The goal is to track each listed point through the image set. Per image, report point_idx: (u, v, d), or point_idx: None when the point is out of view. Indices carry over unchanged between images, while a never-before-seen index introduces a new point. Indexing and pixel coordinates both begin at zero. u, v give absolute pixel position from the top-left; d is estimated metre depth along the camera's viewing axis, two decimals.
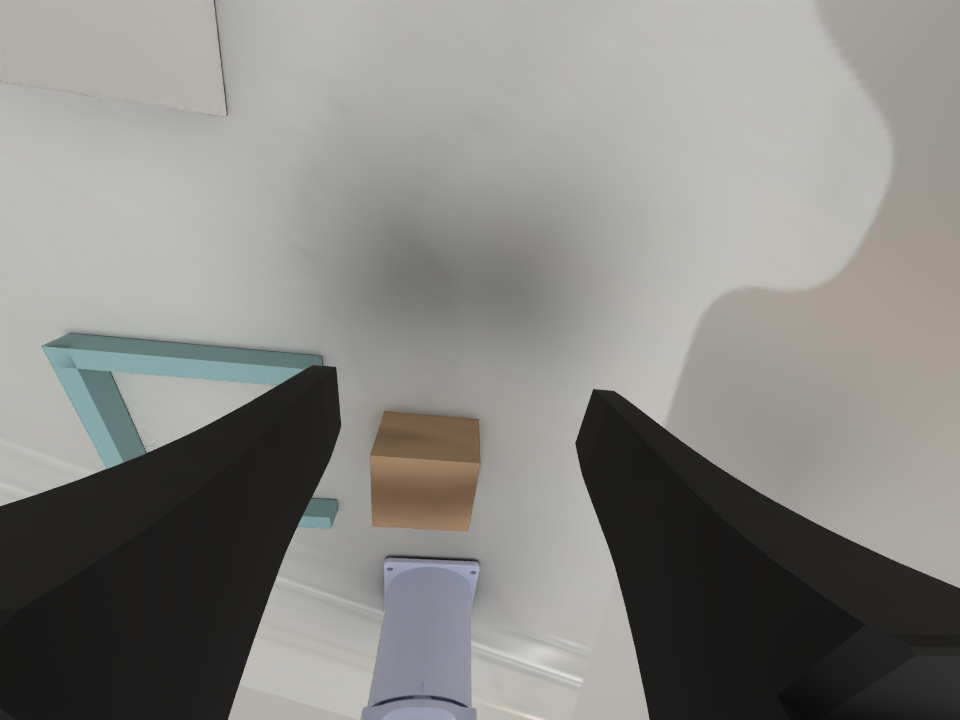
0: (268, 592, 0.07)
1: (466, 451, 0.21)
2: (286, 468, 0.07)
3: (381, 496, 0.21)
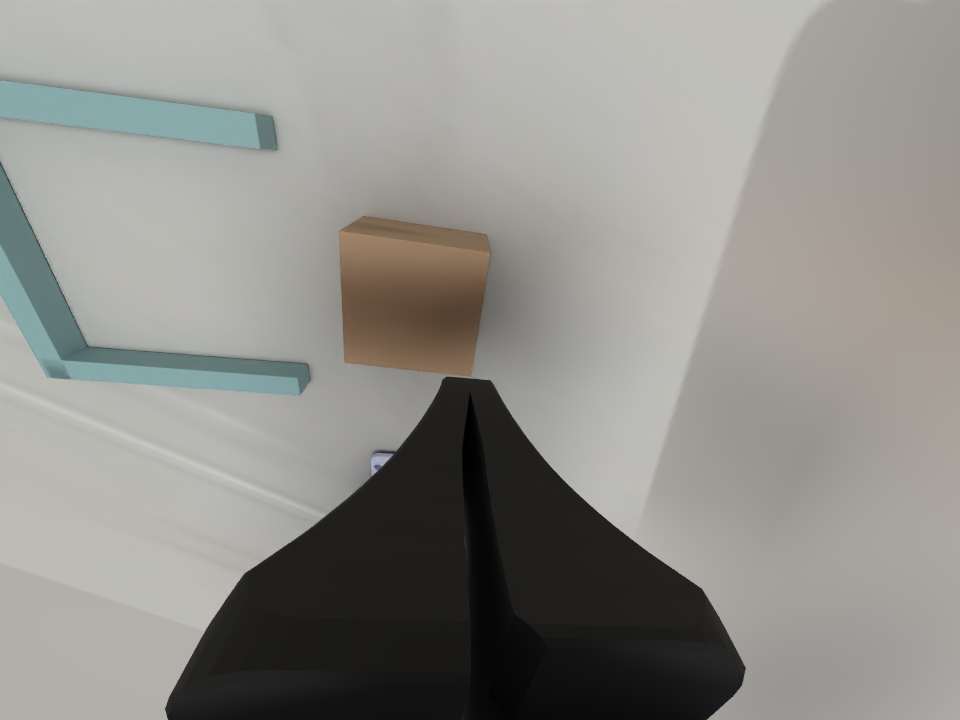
0: None
1: (471, 245, 0.15)
2: None
3: (355, 308, 0.16)
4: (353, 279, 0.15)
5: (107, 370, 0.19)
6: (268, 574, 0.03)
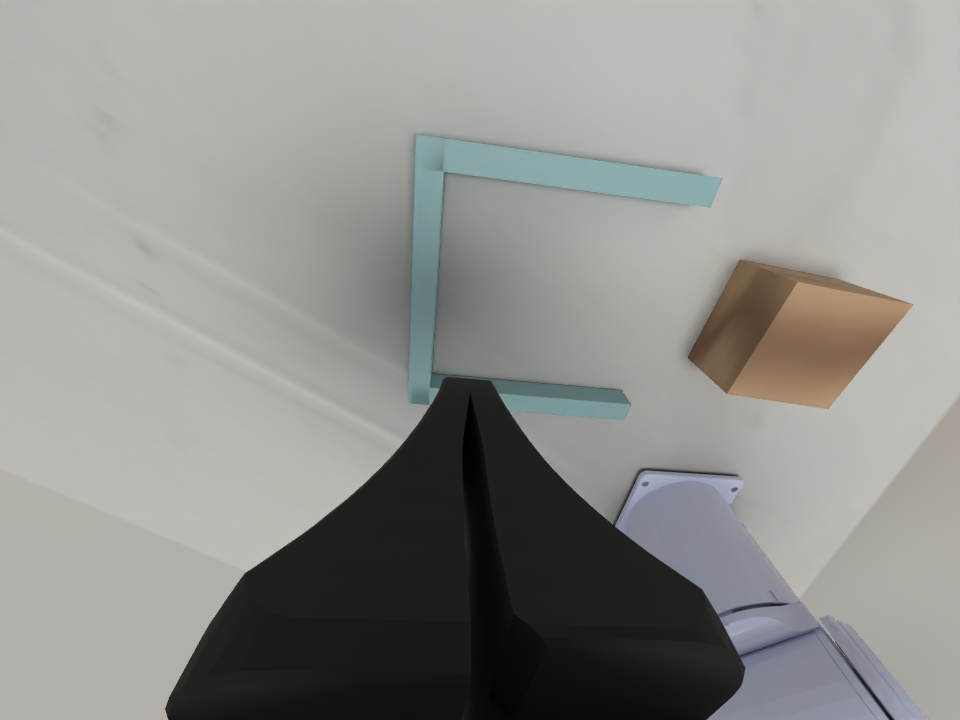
0: None
1: (880, 295, 0.17)
2: None
3: (767, 348, 0.17)
4: (782, 323, 0.17)
5: None
6: (269, 575, 0.03)
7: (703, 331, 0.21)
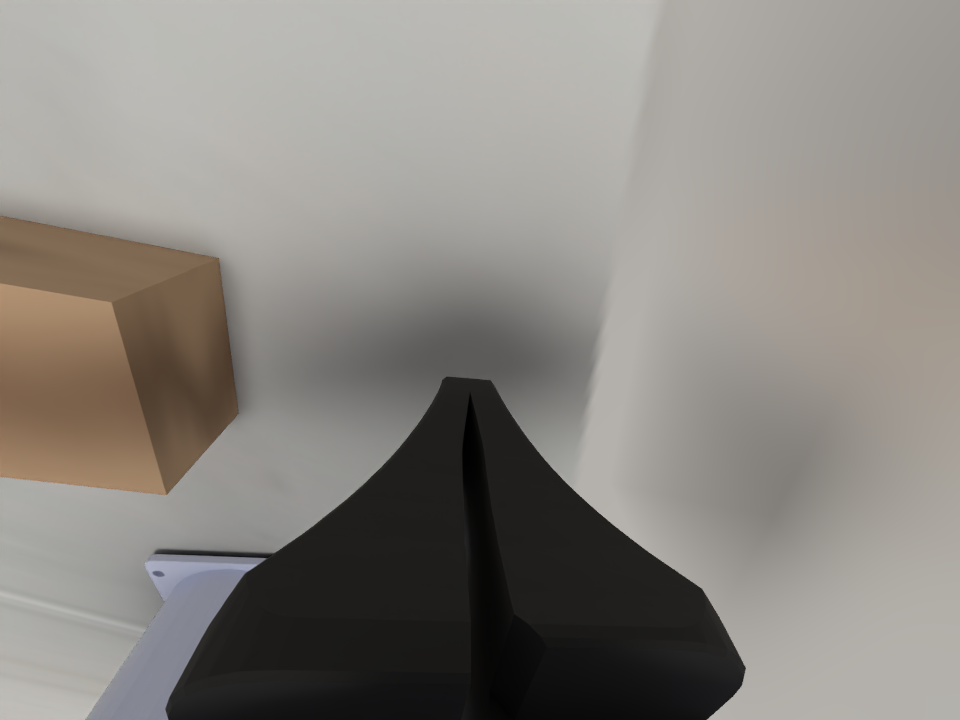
0: None
1: (103, 283, 0.08)
2: None
3: None
4: None
5: None
6: (269, 574, 0.03)
7: None
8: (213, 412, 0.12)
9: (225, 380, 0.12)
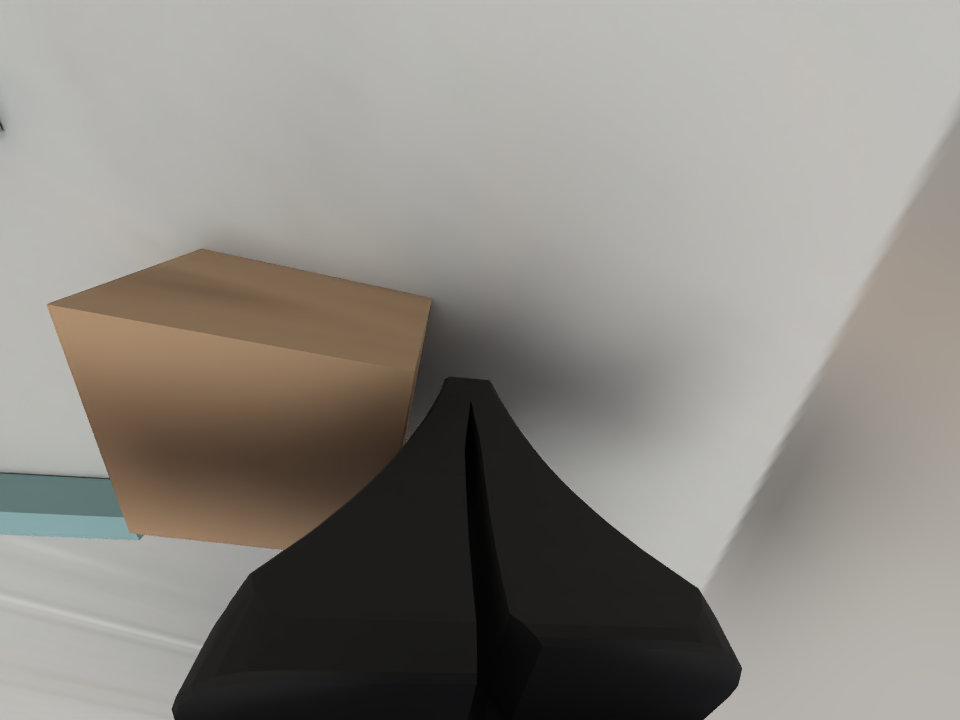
0: None
1: (380, 343, 0.07)
2: None
3: (128, 452, 0.07)
4: (110, 401, 0.07)
5: None
6: (273, 575, 0.03)
7: None
8: None
9: None
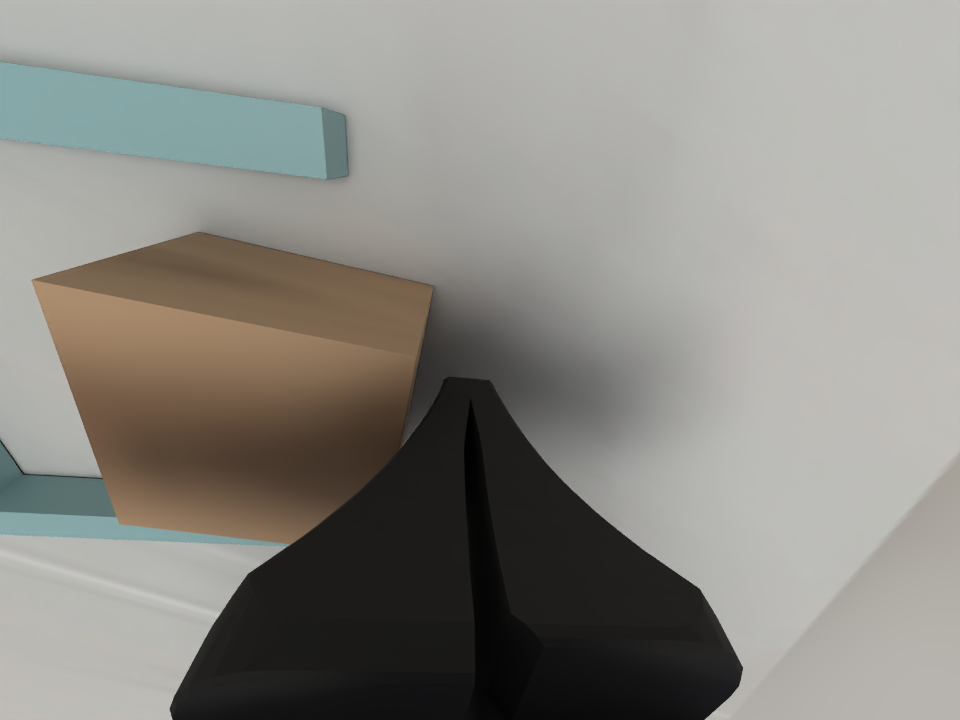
0: None
1: (381, 328, 0.07)
2: None
3: (118, 439, 0.07)
4: (99, 384, 0.07)
5: (50, 522, 0.12)
6: (274, 575, 0.03)
7: None
8: None
9: (407, 418, 0.11)
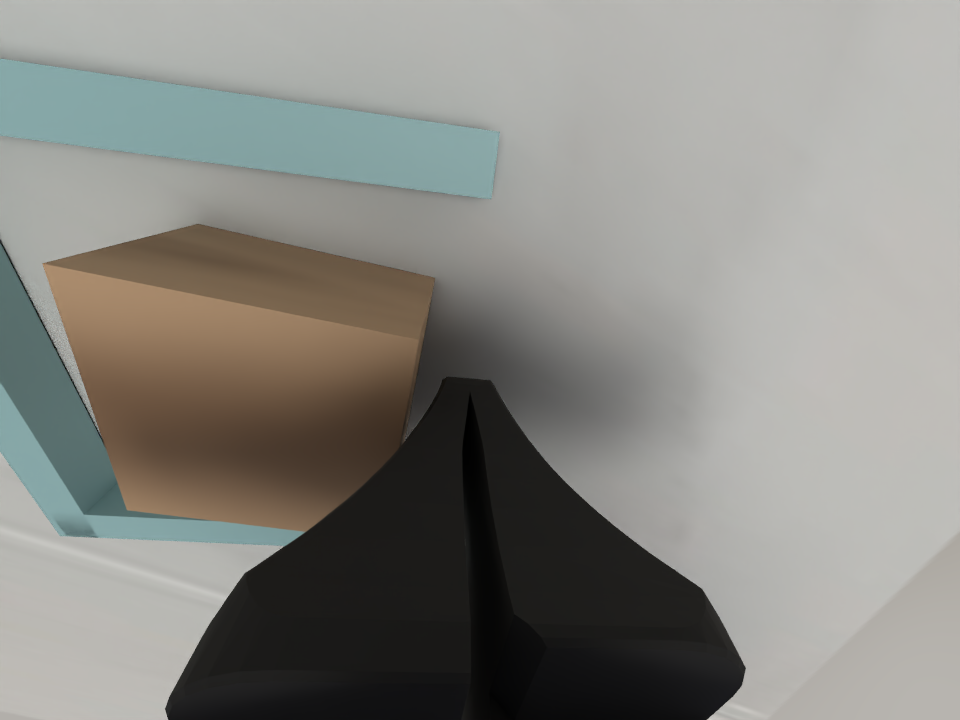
0: None
1: (384, 313, 0.07)
2: None
3: (126, 424, 0.07)
4: (107, 369, 0.07)
5: (156, 526, 0.12)
6: (269, 574, 0.03)
7: None
8: None
9: (410, 408, 0.11)
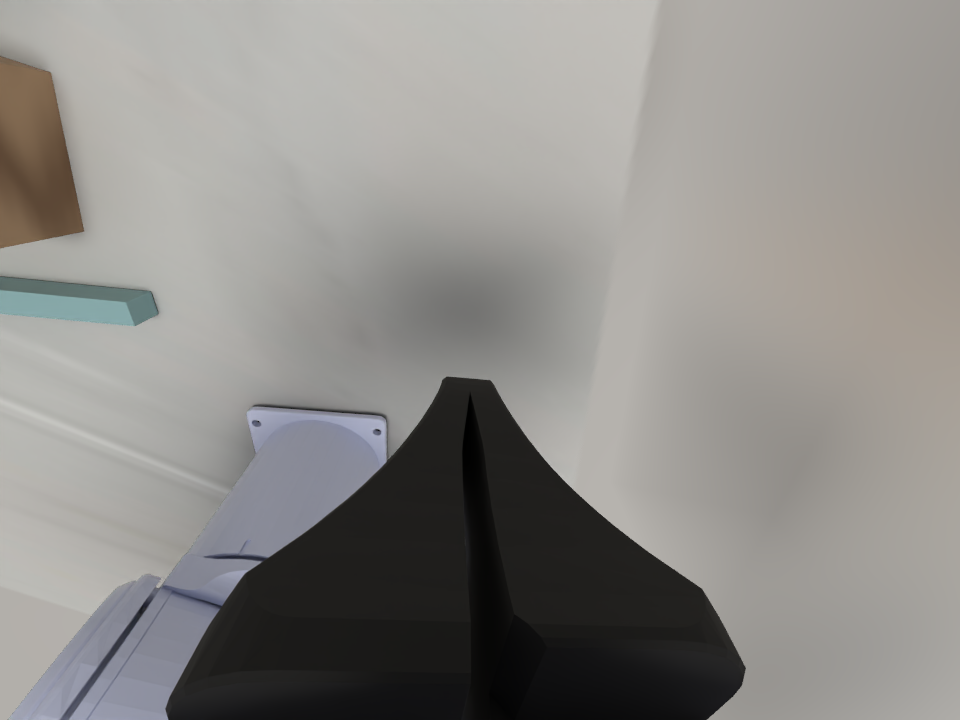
0: None
1: None
2: None
3: None
4: None
5: None
6: (269, 574, 0.03)
7: None
8: (48, 210, 0.15)
9: (64, 190, 0.15)
